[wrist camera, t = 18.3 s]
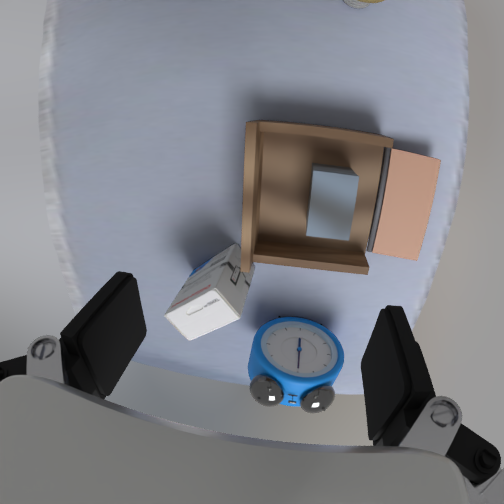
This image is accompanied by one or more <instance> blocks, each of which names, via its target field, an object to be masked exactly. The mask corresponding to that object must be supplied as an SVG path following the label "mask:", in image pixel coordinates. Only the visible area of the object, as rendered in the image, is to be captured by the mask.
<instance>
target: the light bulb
mask: <svg viewBox="0 0 504 504" xmlns="http://www.w3.org/2000/svg"><path fill="white" fill-rule="evenodd" d="M343 1H344V2H345V3H346V4H347V5H349V6H351V7H353V8H358V9H360V8H365V7H367V6H369V4H370V3H378V2H382V1H384V0H343Z"/></svg>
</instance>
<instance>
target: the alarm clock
mask: <svg viewBox="0 0 504 504" xmlns="http://www.w3.org/2000/svg"><path fill="white" fill-rule="evenodd" d="M343 362H344V351H343V348H342V346H341V344H340V342H339V340H338V339H337V337H336V336H335V335H334V334H333V333H332V332H331V331H329V330H328V329H327V328H325V327H324V326H322V324H318V323H316V322H314V321H311V320H308V319H304V318H298V317H282V318H281V317H280V316H279V317H278V318H277V319H274V320H271V321H269V322H267V323H265V324H264V325H263V326H261V327H260V328H259V330H258V331H257V332H256V334H255V336H254V339H253V344H252V349H251V353H250V358H249V363H248V373H249V377H250V379H251V383H250V393H251V395H252V397H253V398H254V399H255V401H257V402H258V403H260V404H261V405H264V406H269V407H270V406H276V405H278V404H283V405H287V406H301V408H302V409H303V410H304V411H306V412H308V413H319V412H321V411H325V410H326V409H327V408H328V407H329V406H330V405H331V404H332V402H333V401H334V397H335V391H334V389H333V387H332V385H333V383H334V381H335V380H336V378H337V376H338V374H339V372H340V370H341V368H342V366H343Z"/></svg>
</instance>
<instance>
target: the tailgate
mask: <svg viewBox="0 0 504 504" xmlns="http://www.w3.org/2000/svg"><path fill="white" fill-rule="evenodd" d="M440 162H441V160H439V159H436V158H432V157H428V156H424V155H420V154H416V153H412V152H407V151H403V150H398V149H394V148H388V147H385V152H384V159H383V166H382V173H381V179H380V185H379V191H378V197H377V203H376V208H375V213H374V218H373V223H372V228H371V233H370V238H369V242H368V247H367V251H368V252H372V253H377V254H383V255H388V256H394V257H400V258H405V259H410V260H416V261H417V260H418V256H419V253H420V249H421V246H422V242H423V239H424V235H425V231H426V228H427V224H428V220H429V216H430V212H431V207H432V203H433V198H434V194H435V189H436V184H437V179H438V173H439V168H440Z"/></svg>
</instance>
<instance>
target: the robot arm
mask: <svg viewBox="0 0 504 504" xmlns="http://www.w3.org/2000/svg"><path fill="white" fill-rule="evenodd" d="M146 331H147V330H146V324H145V320H144V315H143V310H142V306H141V301H140V295H139V290H138V285H137V280H136V278H134V277H133V275H132V274H131V273H126V272H120V271H119V272H117V273H116V274H115V275H114V276H113V277H112V278H111V279H110V280H109V281H108V282H107V283H106V284H105V285H104V286H103V287H102V288H101V289H100V290H99V291H98V292H97V293H96V294H95V295H94V296H93V298H92V299H91V300H90V301H89V302H88V303H87V304H86V305H85V306H84V307H83V308H82V309H81V310H80V312H79V313H78V314H77V315H76V316H75V317H74V319H72V320H71V322H70V323H69V324H68V325H67V326H66V327H65V328H64V330H63V331H62V332H61V333H60V335H61V338H60V339H59V340H58V339H57V338H56V337H54V336H50V335H46V336H42V337H39V338H37V339H35V340H34V341H33V342H32V343H31V344H30V346H29V347H28V351H27V355H25V356H22V357H18V358H14V359H11V360H7V361H3V362H0V504H504V468H503V469H501V468H500V464H501V457H500V454H499V451H498V450H497V448H496V447H494V446H493V445H492V444H491V443H489V442H488V441H486V440H485V439H483V438H482V437H480V436H479V435H477V434H476V433H474V432H473V431H471V430H470V429H469V428H467V427H466V426H464V425H463V424H461V421H462V412H461V409H460V407H459V406H458V404H457V403H456V402H455V401H454V400H452V399H450V398H448V397H445V396H438V397H436V395H435V392H434V388H433V385H432V382H431V378H430V375H429V372H428V369H427V366H426V363H425V360H424V357H423V354H422V351H421V349H420V346H419V344H418V343H417V342H415V339H414V336H413V334H412V331H411V328H410V325H409V323H408V320H407V318H406V315H405V312H404V310H403V308H402V307H401V306H391V305H387V306H386V308H385V309H381V311H380V313H379V316H378V319H377V322H376V324H375V327H374V330H373V332H372V335H371V338H370V340H369V343H368V345H367V348H366V350H365V353H364V355H363V358H362V361H361V372H362V380H363V388H364V396H365V405H366V415H367V426H368V436H369V440H373V446H339V445H318V444H317V445H316V444H302V443H291V442H281V441H272V440H263V439H257V438H250V437H244V436H238V435H232V434H226V433H221V432H216V431H210V430H206V429H201V428H197V427H193V426H189V425H185V424H181V423H177V422H173V421H169V420H166V419H162V418H158V417H155V416H152V415H148V414H145V413H142V412H138V411H136V410H132V409H129V408H127V407H124V406H121V405H118V404H115V403H112V402H109V401H107V400H104V399H105V397H106V396H109V395H110V394H111V393H112V391H113V389H114V387H115V386H116V384H117V382H118V381H119V379H120V377H121V376H122V374H123V372H124V371H125V369H126V367H127V366H128V364H129V362H130V361H131V359H132V357H133V356H134V354H135V353H136V351H137V349H138V348H139V346H140V344H141V343H142V341H143V340H144V338H145V336H146Z"/></svg>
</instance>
